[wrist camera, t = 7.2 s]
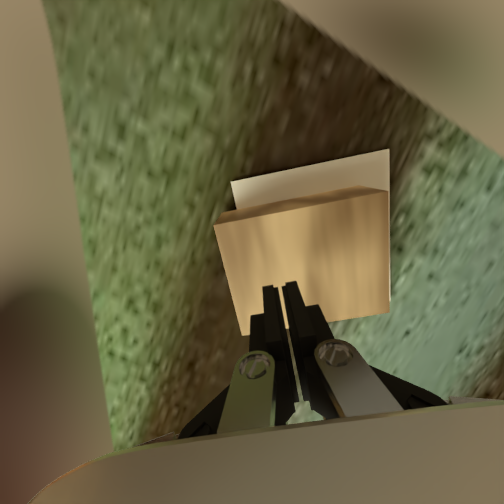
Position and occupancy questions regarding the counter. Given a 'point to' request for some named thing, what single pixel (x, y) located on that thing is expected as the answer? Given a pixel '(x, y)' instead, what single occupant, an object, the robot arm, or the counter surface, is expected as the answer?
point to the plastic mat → (316, 181)
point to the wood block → (310, 252)
